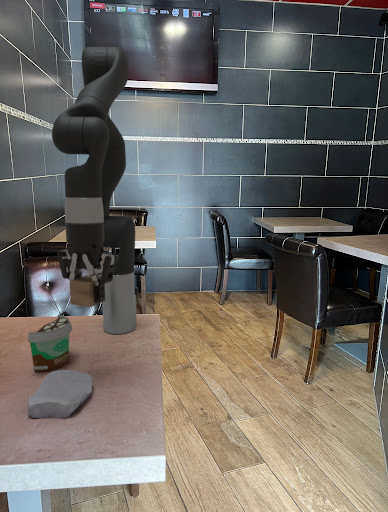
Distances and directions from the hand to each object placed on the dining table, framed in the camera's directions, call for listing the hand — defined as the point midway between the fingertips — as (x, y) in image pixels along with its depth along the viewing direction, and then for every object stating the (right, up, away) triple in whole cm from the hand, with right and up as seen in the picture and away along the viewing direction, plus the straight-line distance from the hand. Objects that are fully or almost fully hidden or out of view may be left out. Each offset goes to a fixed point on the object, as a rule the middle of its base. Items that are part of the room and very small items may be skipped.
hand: (88, 300), depth 77 cm
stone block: (-3, -20, -6) cm, 20 cm away
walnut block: (0, -1, 0) cm, 0 cm away
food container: (-9, -16, +9) cm, 21 cm away
